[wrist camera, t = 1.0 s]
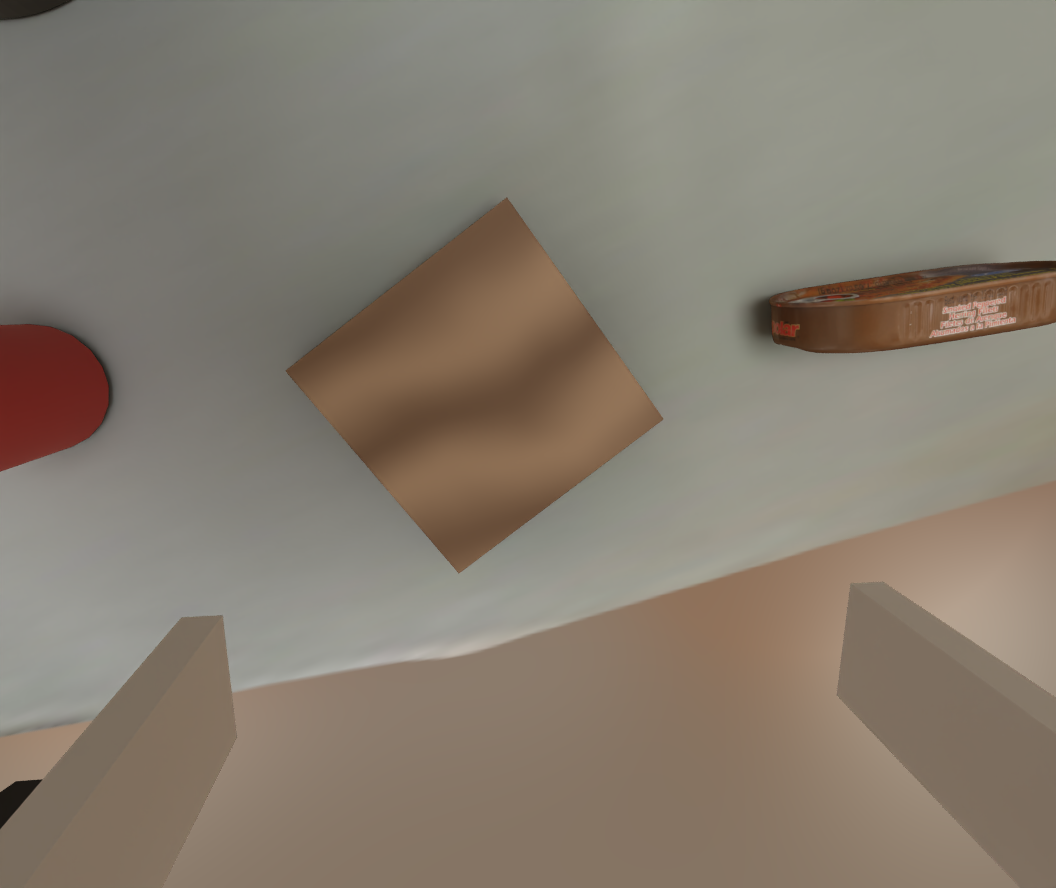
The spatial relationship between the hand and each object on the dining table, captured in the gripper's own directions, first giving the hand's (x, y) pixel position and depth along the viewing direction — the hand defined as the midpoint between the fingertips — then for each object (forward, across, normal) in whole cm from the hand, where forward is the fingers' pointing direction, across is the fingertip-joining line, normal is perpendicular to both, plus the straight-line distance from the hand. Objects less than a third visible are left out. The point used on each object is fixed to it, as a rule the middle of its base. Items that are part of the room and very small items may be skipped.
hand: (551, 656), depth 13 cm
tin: (+24, +22, +7) cm, 34 cm away
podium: (+24, -1, +2) cm, 24 cm away
